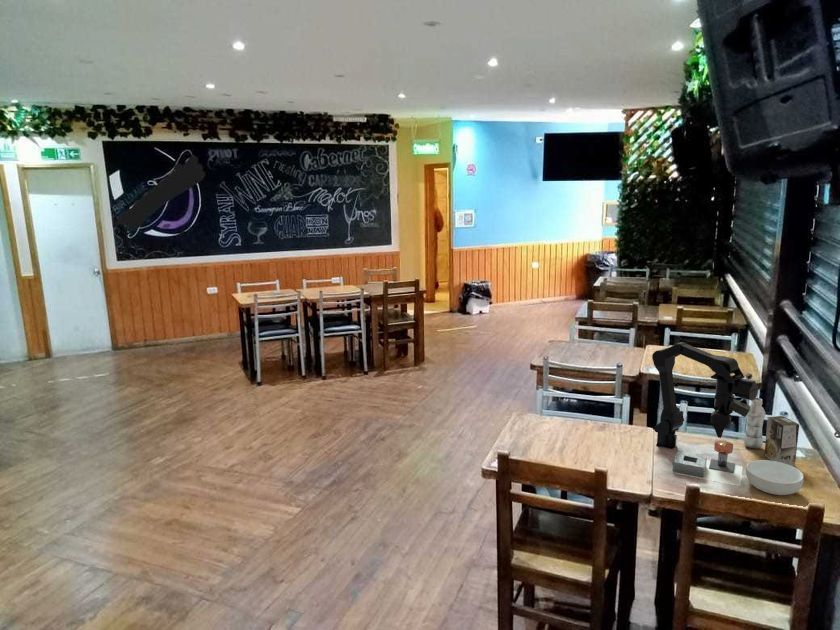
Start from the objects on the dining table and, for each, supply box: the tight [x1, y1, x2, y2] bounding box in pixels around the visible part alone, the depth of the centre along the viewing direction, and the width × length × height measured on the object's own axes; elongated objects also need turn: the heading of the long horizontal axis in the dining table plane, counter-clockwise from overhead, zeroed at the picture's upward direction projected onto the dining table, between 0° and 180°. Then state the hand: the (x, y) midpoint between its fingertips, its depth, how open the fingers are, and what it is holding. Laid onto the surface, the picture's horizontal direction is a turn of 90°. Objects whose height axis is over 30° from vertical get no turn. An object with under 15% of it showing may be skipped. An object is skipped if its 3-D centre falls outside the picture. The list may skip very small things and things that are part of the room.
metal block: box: [672, 451, 708, 479], centre depth 212 cm, size 10×10×4 cm
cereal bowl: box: [745, 459, 804, 496], centre depth 197 cm, size 17×17×7 cm
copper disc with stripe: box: [713, 439, 734, 467], centre depth 213 cm, size 6×6×9 cm
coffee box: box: [764, 415, 800, 467], centre depth 217 cm, size 9×6×16 cm
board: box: [673, 459, 744, 487], centre depth 212 cm, size 21×17×1 cm
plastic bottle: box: [743, 397, 766, 450], centre depth 229 cm, size 6×7×20 cm
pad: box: [709, 458, 736, 473], centre depth 214 cm, size 8×8×1 cm
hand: (720, 433), depth 214 cm, fingers open, 9 cm apart
